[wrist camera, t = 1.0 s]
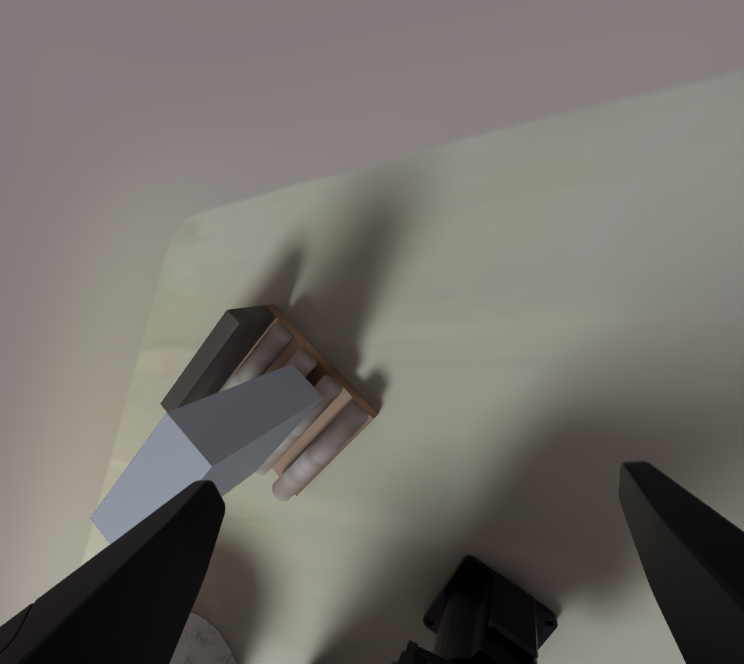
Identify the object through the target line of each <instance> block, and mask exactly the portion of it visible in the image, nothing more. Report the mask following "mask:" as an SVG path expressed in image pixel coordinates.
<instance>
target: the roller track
mask: <svg viewBox="0 0 744 664" xmlns="http://www.w3.org/2000/svg"><path fill="white" fill-rule="evenodd" d="M290 364H293V365H294V366H295V367H296V368H297V370H298V371H299V372H300V373H301V374H302V375H303V376H304V377H305V378H306V379H307V380H308V381H309V382H310V383H311V384H312V386H313V387H314V388H315V389H316V390H317V391H318V392H319V393H320V394H321V395H322V396H323V398H322V399H321V400H320V402H319V403H318V404H317V405H316V406H315V407H314V408H313V409H312V410H311V411H310V413H309V414H308V415H307V416H306V417H305V418H304V419H303V420H302V421H301V422H300V424H299V425H298V426H297V427H296V428H295V429H294V430H293V431H292V432H291V433H290V434H289V436H288V437H287V438H286V439H285V440H284V441H283V442H282V443H281V444H280V445H279V447H278V448H277V449H276V450H275V451H274V452H273V453H272V454H271V455H270V456H269V458H268V459H267V460H266V461H265V462H264V463H263V464H262V465H261V466H260V467H259V469H258V470H257V471H256V472H255V473H257V474H260V475H264V474H266V473H267V472H268V471H269V470H270V469H271V468H273V469H274V471H275V472H276V473H277V474H278V475H279V476H280V477H279V478H278V479H277V480H276V481H275V482H274V484H273V486H272V491H273V494H274V495H275V497H276V498H277V499H279V500H281V501H287V500H289V499H290V498H291V497H292V496H293V495H294V494H295V495H296V496H297V495H298V494H299V493H300V492H301V491H302V490H303V489H304V488H305V487H306V486H307V485H308V484H309V483H310V482H311V481H312V480H313V479H314V478H315V477H316V476H317V475H318V474H319V473H320V472H321V471H322V470H323V469H324V468H325V467H326V466H327V465H328V464H329V463H330V462H331V461H332V460H333V459H334V458H335V457H336V456H337V455H338V454H339V453H340V452H341V451H342V450H343V449H344V448H345V447H346V446H347V445H348V444H349V443H350V442H351V441H352V440H353V439H354V438H355V437H356V436H357V435H358V434H359V433H360V432H361V431H362V430H363V429H364V428H365V427H366V426H367V425H368V424H369V423H370V422H371V421H372V420H373V419H374V418H375V417H376V416H377V415H378V413H377V412H376V411H375V410H374V409H373V408H372V407H371V406H370V405H369V404H368V403H367V402H366V401H365V400H364V399H363V398H362V397H361V396H360V395H359V394H358V393H357V391H356V390H355V389H354V388H353V387H352V386H351V385H350V384H349V383H348V382H347V381H346V380H345V379H344V378H343V377H342V376H341V375H340V374H339V373H338V372H337V371H336V370H335V369H334V367H333V366H332V365H331V364H330V363H329V362H328V361H327V360H326V359H325V358H324V357H323V356H322V355H321V354H320V353H319V352H318V351H317V350H316V349H315V348H314V347H313V346H312V344H311V343H310V342H309V341H308V340H307V339H306V338H305V337H304V336H303V335H302V334H301V333H300V332H299V331H298V330H297V329H296V328H295V327H294V326H293V325H292V324H291V323H290V322H289V320H288V319H287V318H286V317H285V316H284V315H283V314H282V313H281V312H280V311H279V310H278V309H277V308H276V307H275V306H274V305H265V306H256V307H247V308H239V309H230V310H227V311H226V312H225V313H224V315H223V316H222V318H221V319H220V320H219V322H218V323H217V325H216V326H215V328H214V329H213V330H212V332H211V333H210V335H209V336H208V337H207V339H206V340H205V342H204V343H203V344H202V346H201V347H200V349H199V350H198V351H197V353H196V354H195V356H194V357H193V359H192V360H191V361H190V363H189V364H188V366H187V367H186V368H185V370H184V371H183V373H182V374H181V375H180V377H179V378H178V380H177V381H176V382H175V384H174V385H173V387H172V388H171V390H170V391H169V392H168V394H167V395H166V397H165V398H164V399H163V401H162V402H161V405H162V406H163V408H164V409H165V410H166V411H167V412H170V411H172V410H175V409H177V408H180V407H182V406H185V405H188V404H190V403H193V402H195V401H198V400H200V399H203V398H206V397H208V396H211V395H213V394H216V393H218V392H221V391H224V390H226V389H229V388H231V387H234V386H236V385H239V384H242V383H244V382H247V381H249V380H252V379H254V378H257V377H260V376H262V375H265V374H267V373H270V372H272V371H275V370H278V369H280V368H283V367H285V366H288V365H290Z"/></svg>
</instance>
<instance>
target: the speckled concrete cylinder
mask: <svg viewBox="0 0 744 664" xmlns="http://www.w3.org/2000/svg"><path fill="white" fill-rule="evenodd" d="M170 664H236V661H235V658H234V655H233V653H232V650H231V649H230V647H229V645H228V643H227V641H226V640H225V639H224V637H223V636H222V635H221V633H220V632H219V631H218V630H217V629H216V628H215V627H214V626H213V625H212V624H211V623H210V622H208V621H207V620H205V619H204V618H203V617H201V616H199V615H197V614H195V613H192V612H191V613H190V615H189V618H188V620H187V622H186V625H185V627H184V630H183V632H182V635H181V637H180V640H179V642H178V644H177V647H176V649H175V652H174V654H173V657H172V659H171V662H170Z"/></svg>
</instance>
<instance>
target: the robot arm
mask: <svg viewBox="0 0 744 664" xmlns="http://www.w3.org/2000/svg"><path fill="white" fill-rule="evenodd" d="M619 498H620V502H621V506H622V509H623V511H624V514H625V517H626V520H627V523H628V526H629V528H630V531H631V534H632V537H633V540H634V543H635V546H636V548H637V551H638V554H639V557H640V560H641V563H642V565H643V568H644V571H645V574H646V577H647V579H648V582H649V585H650V587H651V590H652V592H653V594H654V596H655V599H656V601H657V603H658V605H659V607H660V609H661V612H662V614H663V616H664V618H665V620H666V622H667V624H668V626H669V628H670V631H671V633H672V635H673V637H674V639H675V641H676V643H677V645H678V647H679V650H680V652H681V654H682V656H683V658H684V660H685V662H686V664H744V532H743V531H742V530H741V529H739V528H738V527H737V526H735V525H734V524H732V523H731V522H730V521H728V520H727V519H726V518H724V517H723V516H721V515H720V514H719V513H717V512H716V511H715V510H713V509H712V508H710V507H709V506H708V505H706V504H705V503H704V502H702V501H701V500H699V499H698V498H697V497H695V496H694V495H693V494H691V493H690V492H688V491H687V490H686V489H684V488H683V487H682V486H680V485H679V484H677V483H676V482H675V481H673V480H672V479H671V478H669V477H668V476H666V475H665V474H664V473H662V472H661V471H660V470H658V469H657V468H655V467H654V466H653V465H651V464H650V463H648V462H646V461H626V462H623V463H622V464H621V467H620V481H619ZM224 514H225V503H224V501H223V499H222V497H221V495H220V493H219V491H218V489H217V487H216V485H215V483H214V482H213V481H211V480H198V481H195V482H193V483H191V484H190V485H189V486H187V487H186V488H185V489H183V490H182V491H181V492H179V493H178V494H177V495H175V496H174V497H173V498H171V499H170V500H169V501H167V502H166V503H165V504H163V505H162V506H161V507H159V508H158V509H157V510H155V511H154V512H153V513H151V514H150V515H149V516H147V517H146V518H145V519H143V520H142V521H141V522H139V523H138V524H137V525H135V526H134V527H133V528H131V529H130V530H129V531H127V532H126V533H125V534H123V535H122V536H121V537H119V538H118V539H117V540H115V541H114V542H113V543H111V544H110V545H109V546H107V547H106V548H105V549H103V550H102V551H101V552H99V553H98V554H97V555H95V556H94V557H93V558H91V559H90V560H89V561H87V562H86V563H85V564H83V565H82V566H81V567H80V568H78V569H77V570H75V571H74V572H73V573H71V574H70V575H69V576H67V577H66V578H65V579H63V580H62V581H61V582H60V583H58V584H57V585H56V586H54V587H53V588H51V589H50V590H49V591H48V592H46V593H45V594H44V595H42V596H41V597H40V598H38V599H37V600H36V601H35V603H32V604H30V605H29V606H27V607H26V608H25V609H24V610H22V611H21V612H19V613H18V614H17V615H15V616H14V617H13V618H11V619H10V620H9V621H7V622H6V623H5V624H3V625H2V626H1V627H0V664H170V662H171V659H172V657H173V654H174V652H175V649H176V647H177V644H178V642H179V640H180V637H181V635H182V632H183V630H184V627H185V625H186V622H187V620H188V618H189V615H190V613H191V610H192V608H193V605H194V603H195V601H196V598H197V596H198V593H199V591H200V588H201V586H202V583H203V580H204V578H205V575H206V572H207V569H208V566H209V563H210V559H211V556H212V553H213V550H214V547H215V543H216V540H217V537H218V534H219V531H220V527H221V524H222V521H223V518H224ZM467 563H471V564H472V565H473V566H469V565H468V564H467ZM429 619H432V620H433V621H431V620H429ZM546 619H551V620H552V621H547V620H546ZM423 622H424V624H425V626H426V627H428V628H429V629H430V630H432V631H433V632H434V633H435V634H437V636H436V641H435V645H434V649H433V653H432V652H430V651H427V650H425V649H423V648H421V647H419V646H418V644H417V643H415V642H413V641H411V640H409V643H408V646H407V648H406V651H405V652H404V651H402V653H401V655H400V658H399V660H398V661H395V662H392V664H537V658H538V649H539V648H540V647H541V646H542V644H543V643H544V642H545V641H546V640H547V639H548V637H549V636H550V635H551V634H552V633H553V631H554V630H555V629H556V628H557V626H558V623H557V617H556V615H555V614H554V613H553V612H552V611H550V610H549V609H548V608H546V607H545V606H543V605H542V604H540V603H539V602H538V601H536V600H535V599H534V598H533V597H532V596H530V595H529V594H527V593H526V592H525V591H523V590H522V589H520V588H519V587H517V586H516V585H515V584H513V583H512V582H510V581H509V580H507V579H506V578H505V577H503V576H502V575H500V574H497V573H496V572H495V571H493V570H492V569H490V568H489V567H487V566H486V565H485V564H483V563H482V562H480V561H479V560H477V559H476V558H474V557H473V556H469V555H468V556H465V557H464V558H463V559H462V561H461V562H460V564H459V565H458V567H457V568H456V569H455V571H454V572H453V574H452V575H451V577H450V578H449V579H448V581H447V582H446V584H445V585H444V587H443V588H442V589H441V591H440V592H439V594H438V595H437V597H436V598H435V599H434V601H433V602H432V604H431V605H430V607H429V608H428V609H427V611H426V612H425V615H424V618H423Z"/></svg>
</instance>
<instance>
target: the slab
mask: <svg viewBox="0 0 744 664" xmlns="http://www.w3.org/2000/svg"><path fill="white" fill-rule="evenodd" d="M322 398H323V396H322V395H321V394H320V393H319V392H318V391H317V390H316V389H315V388H314V387H313V386H312V384H311V383H310V382H309V381H308V380H307V379H306V378H305V377H304V376H303V375H302V374H301V373H300V372H299V371H298V370H297V368H296V367H295V366H294V365H293V364H290V365H288V366H285V367H283V368H280V369H278V370H275V371H272V372H270V373H267V374H265V375H262V376H260V377H257V378H254V379H252V380H249V381H247V382H244V383H242V384H239V385H236V386H234V387H231V388H229V389H226V390H224V391H221V392H218V393H216V394H213V395H211V396H208V397H206V398H203V399H200V400H198V401H195V402H193V403H190V404H188V405H185V406H182V407H180V408H177V409H175V410H172V411H170V412H167V413H166V414H165V415H164V417H163V418H162V420H161V421H160V422H159V424H158V425H157V426H156V428H155V429H154V431H153V432H152V433H151V435H150V436H149V437H148V439H147V440H146V442H145V443H144V444H143V446H142V447H141V449H140V450H139V451H138V453H137V454H136V455H135V457H134V458H133V460H132V461H131V462H130V464H129V465H128V466H127V468H126V469H125V471H124V472H123V473H122V475H121V476H120V477H119V479H118V480H117V482H116V483H115V484H114V486H113V487H112V488H111V490H110V491H109V493H108V494H107V495H106V497H105V498H104V499H103V501H102V502H101V504H100V505H99V506H98V508H97V509H96V510H95V512H94V513H93V515H92V516H91V518H90V519H91V520H92V521H93V523H94V524H95V525H96V527H97V528H98V529H99V530H100V532H101V533H102V534H103V536H104V537H105V538H106V540H107V541H108V542H109V544H111V543H113V542H114V541H115V540H117V539H118V538H119V537H121V536H122V535H123V534H125V533H126V532H127V531H129V530H130V529H131V528H133V527H134V526H135V525H137V524H138V523H139V522H141V521H142V520H143V519H145V518H146V517H147V516H149V515H150V514H151V513H153V512H154V511H155V510H157V509H158V508H159V507H161V506H162V505H163V504H165V503H166V502H167V501H169V500H170V499H171V498H173V497H174V496H175V495H177V494H178V493H179V492H181V491H182V490H183V489H185V488H186V487H187V486H189V485H190V484H191V483H193V482H195V481H198V480H211V481H213V482H214V483H215V485H216V487H217V489H218V491H219V493H220V495H221V497H222V496H223V495H225V494H226V493H227V492H229V491H230V490H231V489H233V488H234V487H235V486H237V485H238V484H239V483H241V482H242V481H244V480H245V479H246V478H248V477H249V476H250V475H252V474H253V473H254V472H256V471H257V470H258V469H259V467H260V466H261V465H262V464H263V463H264V462H265V461H266V460H267V459H268V458H269V456H270V455H271V454H272V453H273V452H274V451H275V450H276V449H277V448H278V447H279V445H280V444H281V443H282V442H283V441H284V440H285V439H286V438H287V437H288V436H289V434H290V433H291V432H292V431H293V430H294V429H295V428H296V427H297V426H298V425H299V424H300V422H301V421H302V420H303V419H304V418H305V417H306V416H307V415H308V414H309V413H310V411H311V410H312V409H313V408H314V407H315V406H316V405H317V404H318V403H319V402H320V400H321V399H322Z"/></svg>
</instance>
